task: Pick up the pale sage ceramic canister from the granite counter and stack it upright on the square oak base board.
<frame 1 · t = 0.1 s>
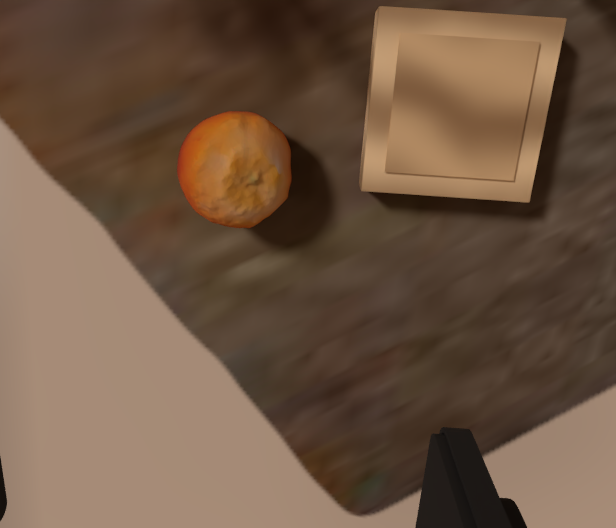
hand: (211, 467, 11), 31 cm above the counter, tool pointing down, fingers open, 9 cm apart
base: (448, 107, 38), on the counter
fruit: (243, 162, 40), on the counter
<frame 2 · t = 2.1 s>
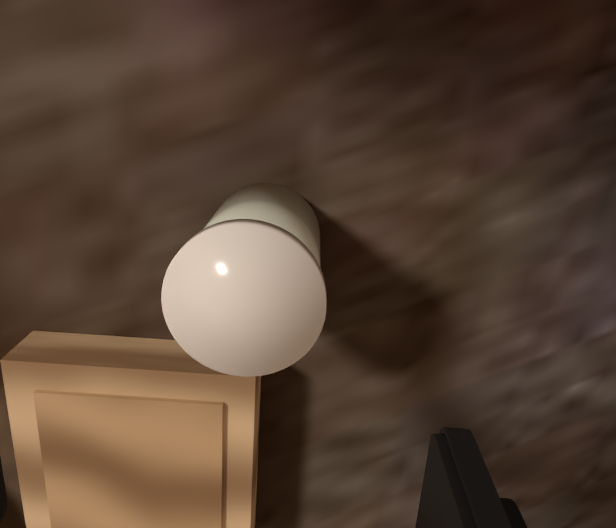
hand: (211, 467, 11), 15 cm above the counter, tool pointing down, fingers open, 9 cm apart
base: (152, 433, 29), on the counter
canister: (266, 236, 25), on the counter
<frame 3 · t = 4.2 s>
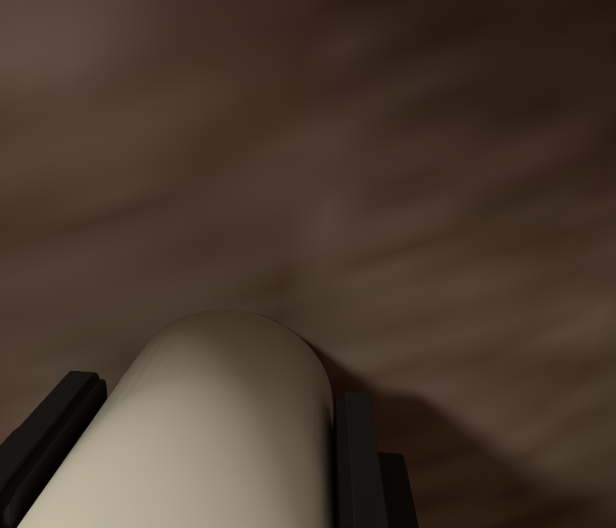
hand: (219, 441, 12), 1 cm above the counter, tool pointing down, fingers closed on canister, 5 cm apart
canister: (230, 403, 13), on the counter, touching gripper
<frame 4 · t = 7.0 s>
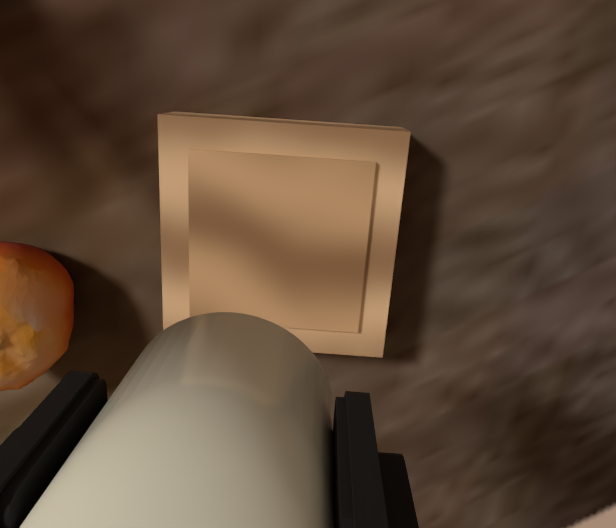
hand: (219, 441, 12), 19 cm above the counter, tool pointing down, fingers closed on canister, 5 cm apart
base: (282, 229, 29), on the counter
canister: (230, 405, 13), point 17 cm above the counter, touching gripper
fruit: (30, 290, 31), on the counter
when the fingers open (6 cm above the counter, at t = 10.0 s): canister drops 1 cm, resting on base.
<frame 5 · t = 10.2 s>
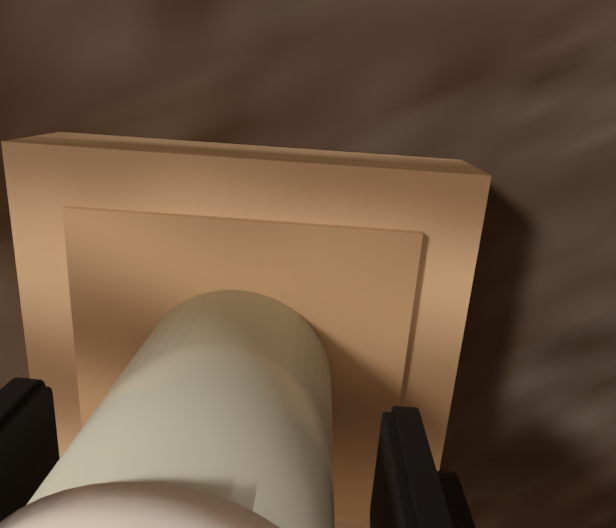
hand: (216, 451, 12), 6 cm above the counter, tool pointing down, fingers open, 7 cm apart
base: (253, 327, 17), on the counter
canister: (236, 378, 14), point 3 cm above the counter, touching base
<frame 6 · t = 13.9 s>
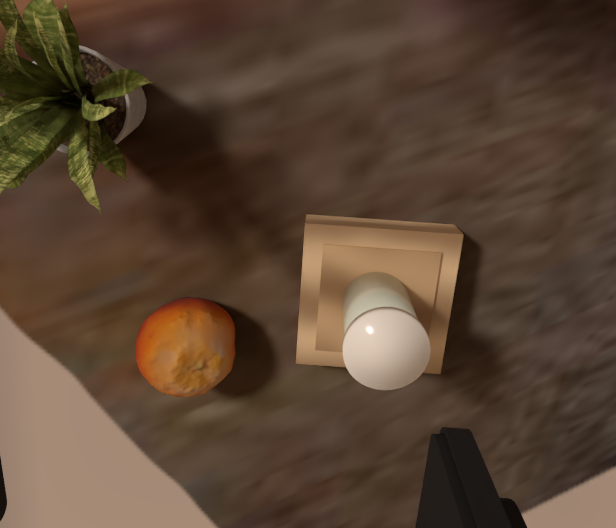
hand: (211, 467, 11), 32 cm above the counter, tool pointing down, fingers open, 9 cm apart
house plant: (104, 83, 40), on the counter
base: (372, 288, 44), on the counter
canister: (375, 302, 41), point 3 cm above the counter, touching base
fruit: (197, 327, 46), on the counter
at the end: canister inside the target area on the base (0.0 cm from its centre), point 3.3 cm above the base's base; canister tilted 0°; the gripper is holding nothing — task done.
